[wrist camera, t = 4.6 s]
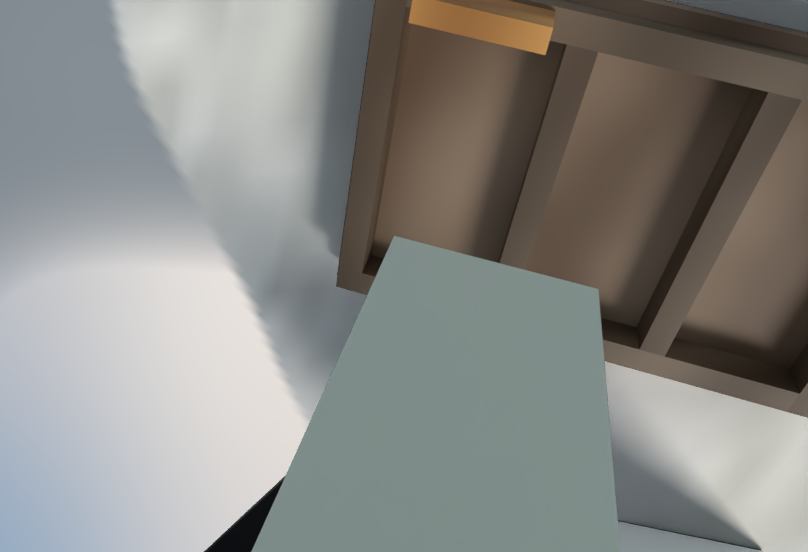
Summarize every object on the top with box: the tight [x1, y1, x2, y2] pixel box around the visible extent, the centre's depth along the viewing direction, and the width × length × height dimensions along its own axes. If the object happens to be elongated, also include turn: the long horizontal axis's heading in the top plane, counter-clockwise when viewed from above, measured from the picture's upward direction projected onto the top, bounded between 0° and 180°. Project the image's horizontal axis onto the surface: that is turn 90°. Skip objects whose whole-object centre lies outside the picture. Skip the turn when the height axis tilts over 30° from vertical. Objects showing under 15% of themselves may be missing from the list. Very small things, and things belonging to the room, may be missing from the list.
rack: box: [336, 0, 808, 417], centre depth 18 cm, size 16×11×4 cm, turn 80°
